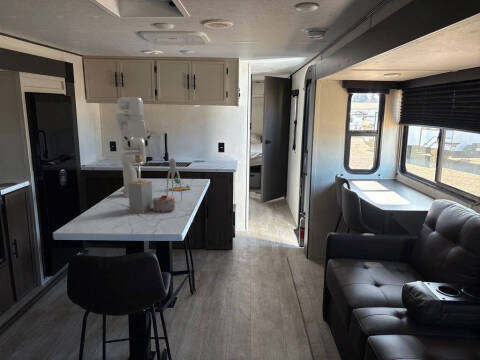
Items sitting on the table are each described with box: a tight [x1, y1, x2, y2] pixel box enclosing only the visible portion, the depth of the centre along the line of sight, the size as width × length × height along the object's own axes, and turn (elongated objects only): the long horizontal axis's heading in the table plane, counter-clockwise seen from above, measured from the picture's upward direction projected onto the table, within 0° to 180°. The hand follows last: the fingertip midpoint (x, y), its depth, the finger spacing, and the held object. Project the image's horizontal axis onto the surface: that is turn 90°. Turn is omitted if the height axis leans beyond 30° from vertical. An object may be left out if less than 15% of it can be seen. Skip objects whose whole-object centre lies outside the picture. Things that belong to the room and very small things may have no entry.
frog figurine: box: [168, 175, 192, 191], centre depth 279 cm, size 10×18×15 cm, turn 80°
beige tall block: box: [126, 179, 153, 215], centre depth 224 cm, size 12×12×18 cm
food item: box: [152, 194, 176, 213], centre depth 224 cm, size 14×8×10 cm, turn 97°
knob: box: [135, 155, 144, 183], centre depth 221 cm, size 8×8×25 cm
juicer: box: [166, 157, 183, 201], centre depth 245 cm, size 10×9×30 cm
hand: (137, 147), depth 218 cm, fingers open, 9 cm apart
